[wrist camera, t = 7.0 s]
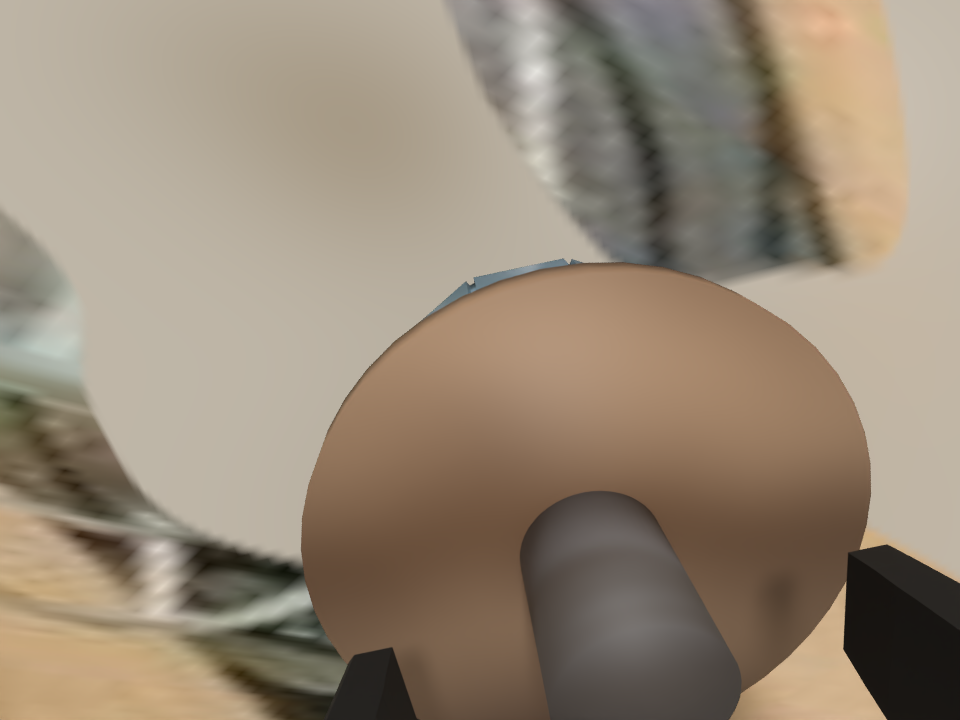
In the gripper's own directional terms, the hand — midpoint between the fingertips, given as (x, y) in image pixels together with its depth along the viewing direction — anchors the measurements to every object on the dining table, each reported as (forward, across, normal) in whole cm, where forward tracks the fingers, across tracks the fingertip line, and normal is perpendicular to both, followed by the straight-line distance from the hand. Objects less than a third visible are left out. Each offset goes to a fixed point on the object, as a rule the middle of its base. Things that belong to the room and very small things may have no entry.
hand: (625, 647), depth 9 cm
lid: (+3, 0, 0) cm, 3 cm away
